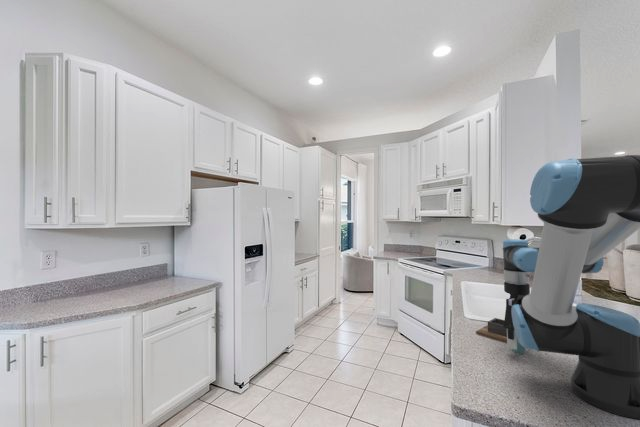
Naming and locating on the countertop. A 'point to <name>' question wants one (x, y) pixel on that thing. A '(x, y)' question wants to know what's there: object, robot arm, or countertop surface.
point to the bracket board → (494, 330)
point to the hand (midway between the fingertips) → (518, 343)
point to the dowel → (519, 348)
